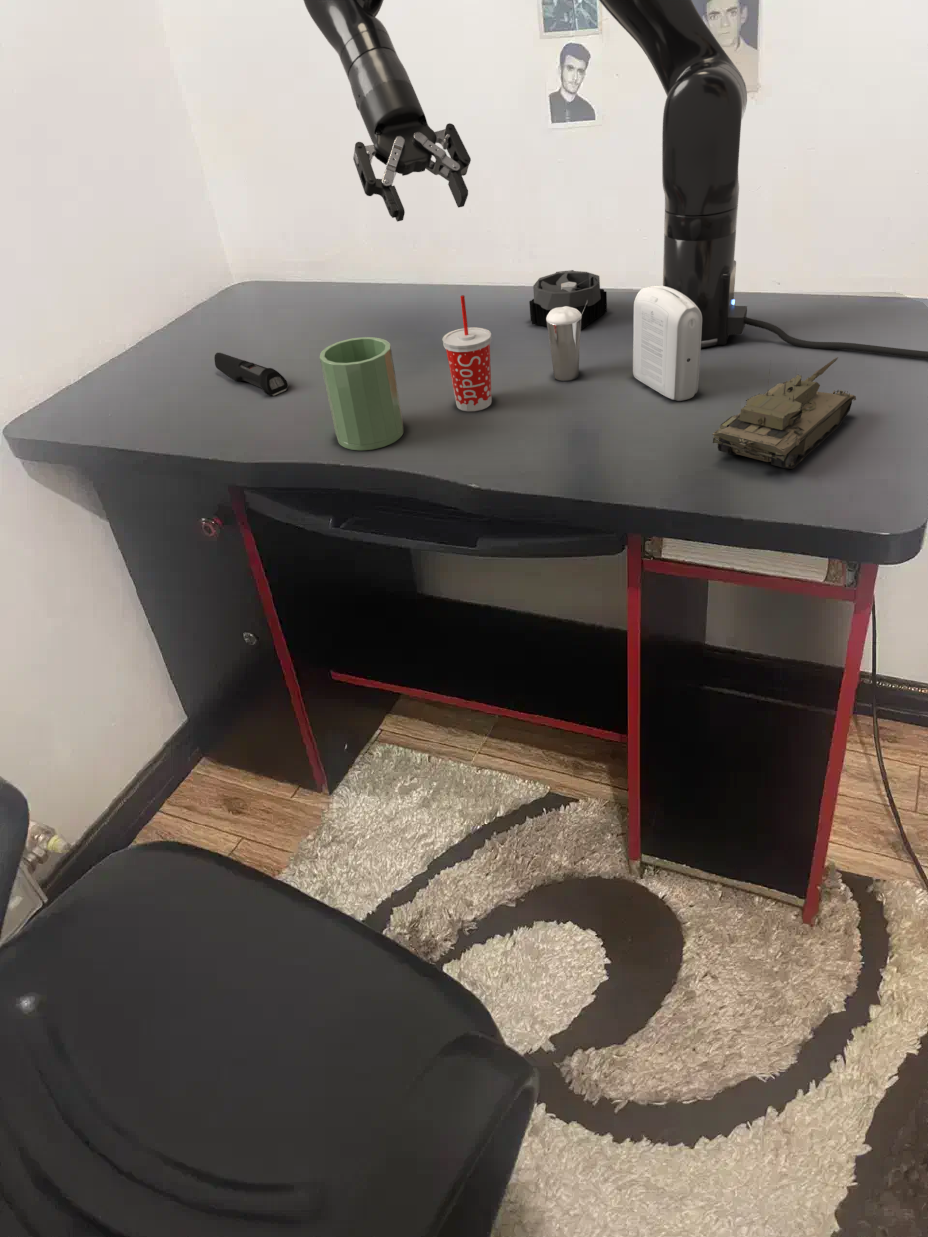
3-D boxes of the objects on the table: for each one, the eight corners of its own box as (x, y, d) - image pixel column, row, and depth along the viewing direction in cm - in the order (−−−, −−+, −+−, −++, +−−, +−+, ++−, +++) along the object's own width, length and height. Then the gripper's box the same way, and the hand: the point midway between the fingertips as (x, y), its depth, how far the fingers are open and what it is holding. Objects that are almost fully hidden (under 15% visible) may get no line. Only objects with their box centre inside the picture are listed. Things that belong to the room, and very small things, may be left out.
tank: (702, 467, 100) (707, 380, 94) (798, 390, 112) (807, 309, 106) (777, 488, 95) (787, 397, 89) (868, 404, 107) (882, 320, 101)
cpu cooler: (579, 295, 131) (519, 288, 136) (580, 334, 134) (522, 325, 139) (614, 272, 137) (555, 266, 142) (614, 310, 140) (557, 303, 146)
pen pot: (414, 422, 117) (401, 338, 110) (387, 452, 111) (371, 365, 104) (355, 418, 120) (339, 335, 113) (326, 448, 114) (307, 363, 107)
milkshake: (587, 382, 120) (585, 307, 114) (547, 383, 122) (543, 308, 116) (590, 368, 124) (589, 294, 118) (551, 369, 125) (547, 296, 119)
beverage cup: (443, 412, 118) (429, 304, 110) (461, 392, 122) (448, 286, 114) (487, 415, 116) (476, 305, 107) (504, 395, 120) (494, 287, 112)
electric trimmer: (233, 367, 140) (227, 346, 138) (291, 388, 130) (285, 366, 128) (212, 375, 138) (206, 355, 136) (269, 398, 128) (263, 376, 126)
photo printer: (703, 395, 114) (709, 295, 106) (674, 404, 113) (678, 304, 105) (655, 369, 121) (657, 274, 114) (628, 378, 120) (628, 282, 113)
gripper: (336, 87, 112) (384, 203, 111) (442, 67, 116) (490, 179, 114) (332, 130, 120) (376, 240, 118) (431, 110, 123) (476, 216, 122)
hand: (432, 210), depth 116 cm, fingers open, 8 cm apart
